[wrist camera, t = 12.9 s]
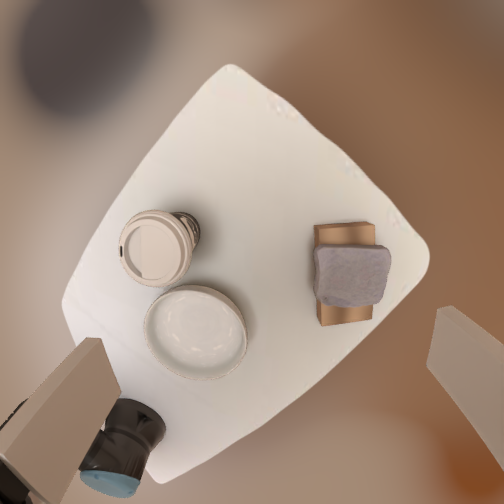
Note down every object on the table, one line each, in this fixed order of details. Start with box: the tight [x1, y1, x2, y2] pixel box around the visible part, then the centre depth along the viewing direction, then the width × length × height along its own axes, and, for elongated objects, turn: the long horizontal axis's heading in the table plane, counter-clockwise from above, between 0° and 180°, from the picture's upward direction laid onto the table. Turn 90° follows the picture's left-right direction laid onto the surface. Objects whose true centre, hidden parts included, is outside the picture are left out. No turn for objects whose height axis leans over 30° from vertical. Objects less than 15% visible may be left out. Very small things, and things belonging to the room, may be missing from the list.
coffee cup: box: [119, 210, 200, 287], centre depth 38 cm, size 10×10×15 cm
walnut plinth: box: [314, 222, 375, 326], centre depth 45 cm, size 9×16×4 cm, turn 5°
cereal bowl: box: [144, 285, 248, 380], centre depth 46 cm, size 17×17×7 cm
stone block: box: [313, 244, 391, 308], centre depth 41 cm, size 12×5×10 cm
